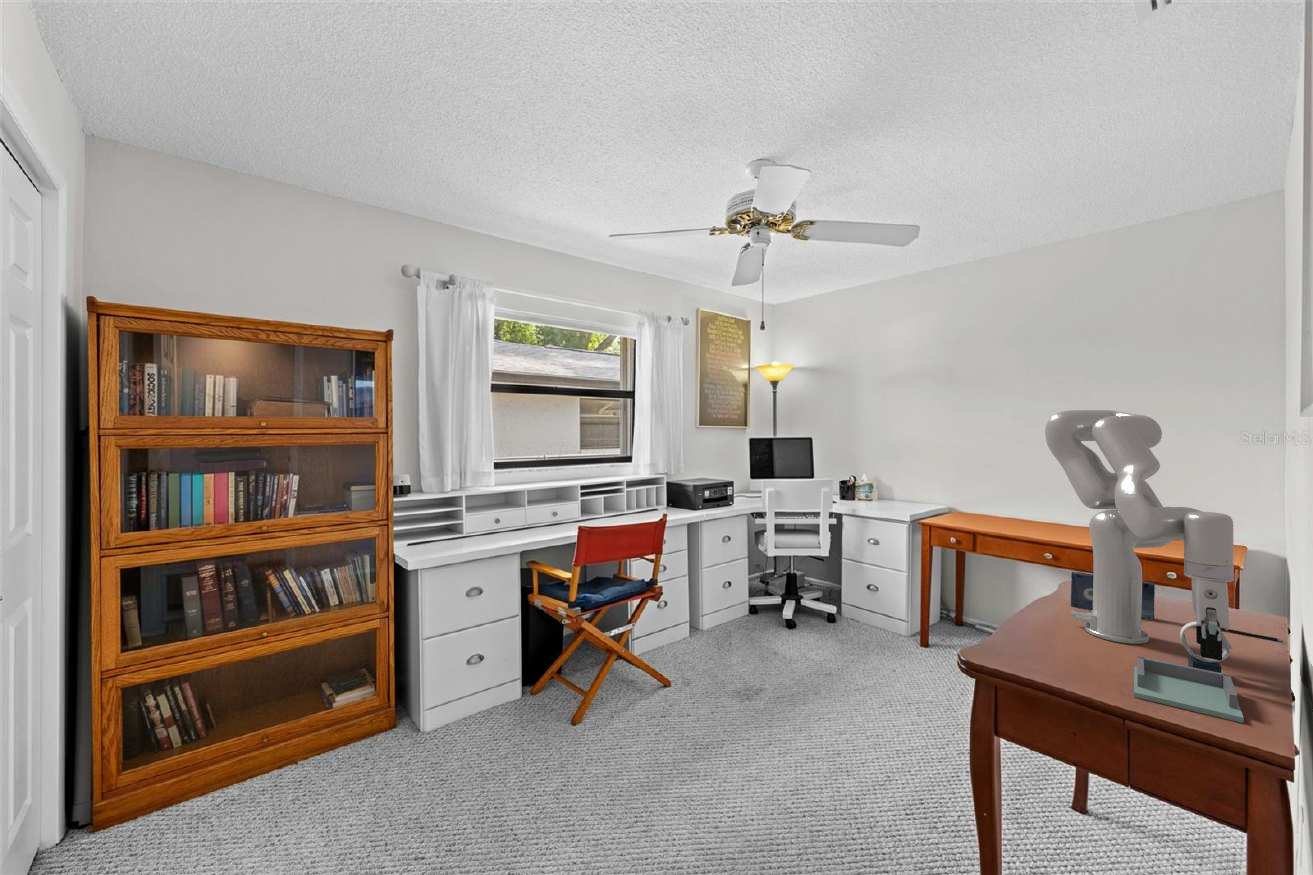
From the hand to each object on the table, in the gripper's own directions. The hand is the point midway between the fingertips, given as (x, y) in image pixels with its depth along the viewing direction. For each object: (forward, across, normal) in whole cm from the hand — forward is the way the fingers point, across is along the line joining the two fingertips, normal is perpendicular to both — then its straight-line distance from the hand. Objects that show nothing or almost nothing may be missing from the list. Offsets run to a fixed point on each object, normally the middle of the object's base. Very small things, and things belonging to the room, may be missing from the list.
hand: (1208, 651), depth 120 cm
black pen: (+5, +37, -9) cm, 38 cm away
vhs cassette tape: (+4, +37, +17) cm, 41 cm away
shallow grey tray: (+5, -14, +5) cm, 16 cm away
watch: (+5, +1, +1) cm, 5 cm away
